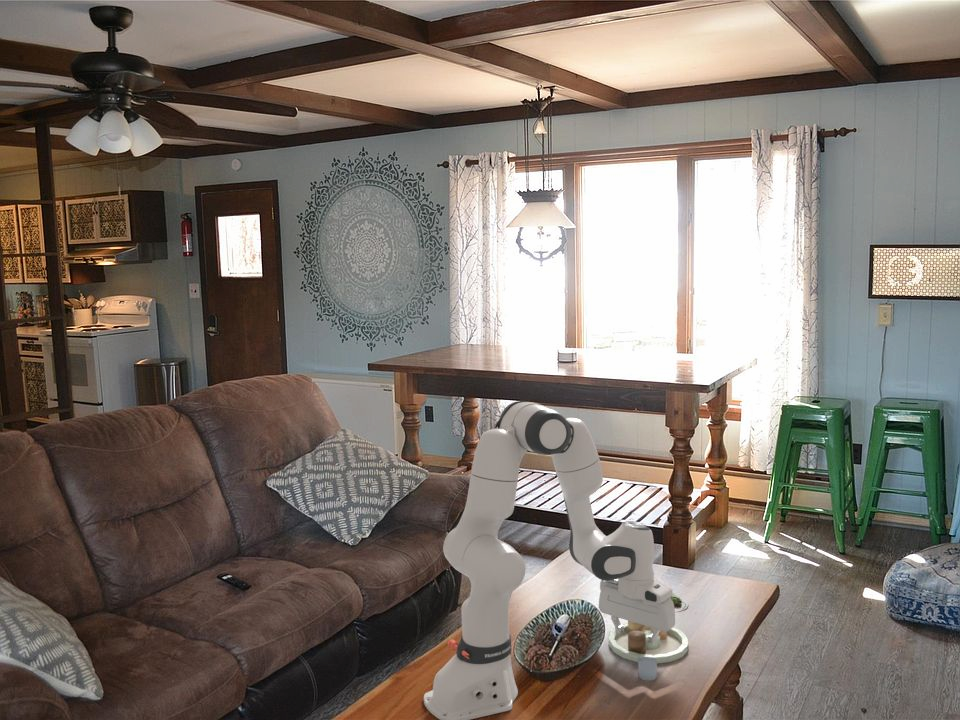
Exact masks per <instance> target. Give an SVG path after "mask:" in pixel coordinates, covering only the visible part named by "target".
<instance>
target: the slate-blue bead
mask: <svg viewBox="0 0 960 720" xmlns="http://www.w3.org/2000/svg"><path fill="white" fill-rule="evenodd" d="M637 663H638V666H637V668H638V671H637V672H638V678H639V679H640V680H643V681H645V682H646V681H648V682H650V681H654V680H656V679H657V678H658V663H657V661H656V659H654V658H652V657H642V658H640V659H639V660H638V662H637Z"/></svg>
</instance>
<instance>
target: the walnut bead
mask: <svg viewBox="0 0 960 720" xmlns="http://www.w3.org/2000/svg"><path fill="white" fill-rule="evenodd" d="M628 651H632V652H635V653H639V654H646V634H645V633H644V632H642V631H630V632H629V633H628Z"/></svg>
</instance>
